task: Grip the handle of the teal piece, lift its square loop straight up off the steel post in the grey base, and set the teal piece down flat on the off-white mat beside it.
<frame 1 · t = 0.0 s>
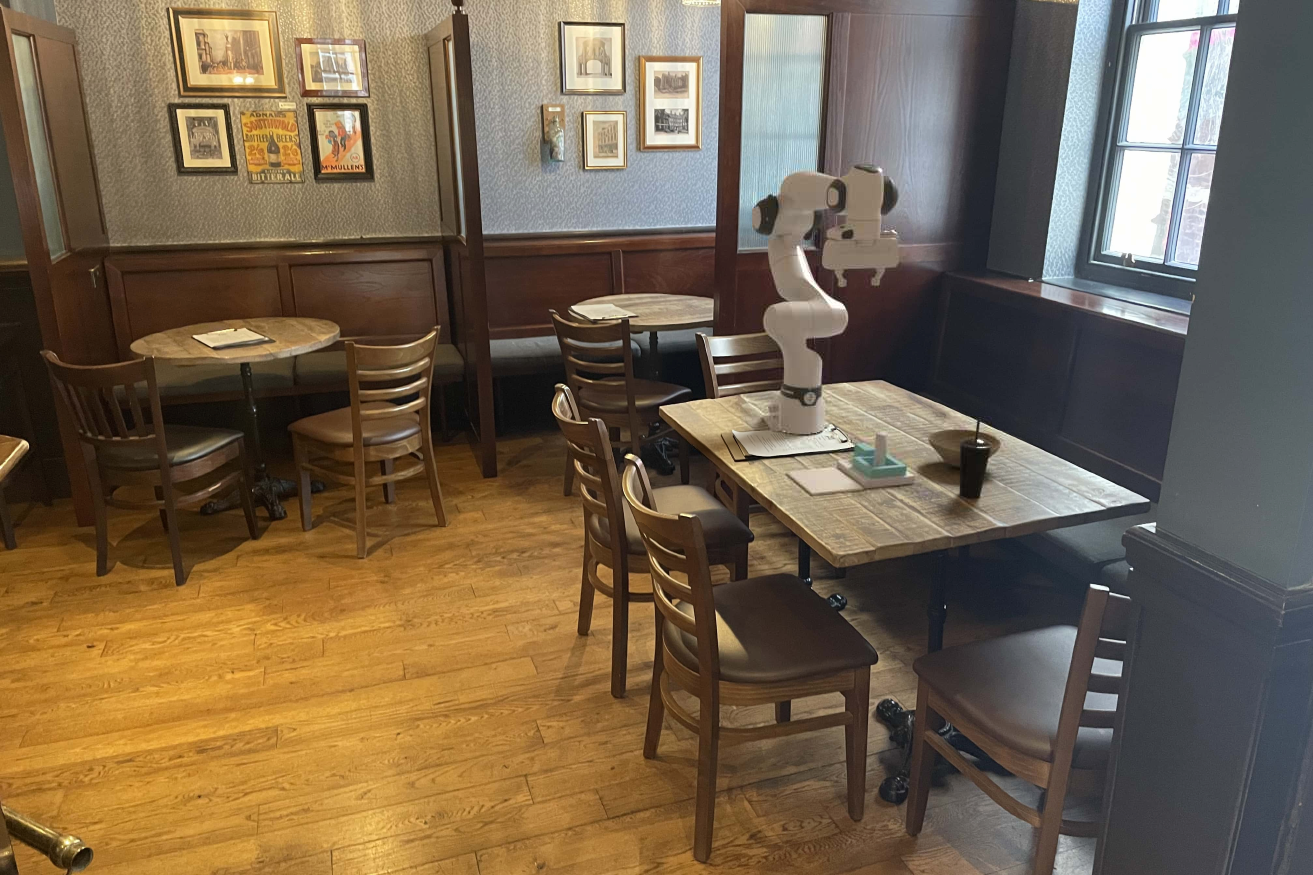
hand: (858, 285, 238), 48 cm above the table, tool pointing down, fingers open, 8 cm apart
bowl: (961, 467, 248), on the table
teal piece: (878, 470, 239), point 2 cm above the table, touching post stand
mat: (823, 481, 237), on the table
post stand: (878, 477, 240), on the table
drinking cup: (969, 495, 228), on the table
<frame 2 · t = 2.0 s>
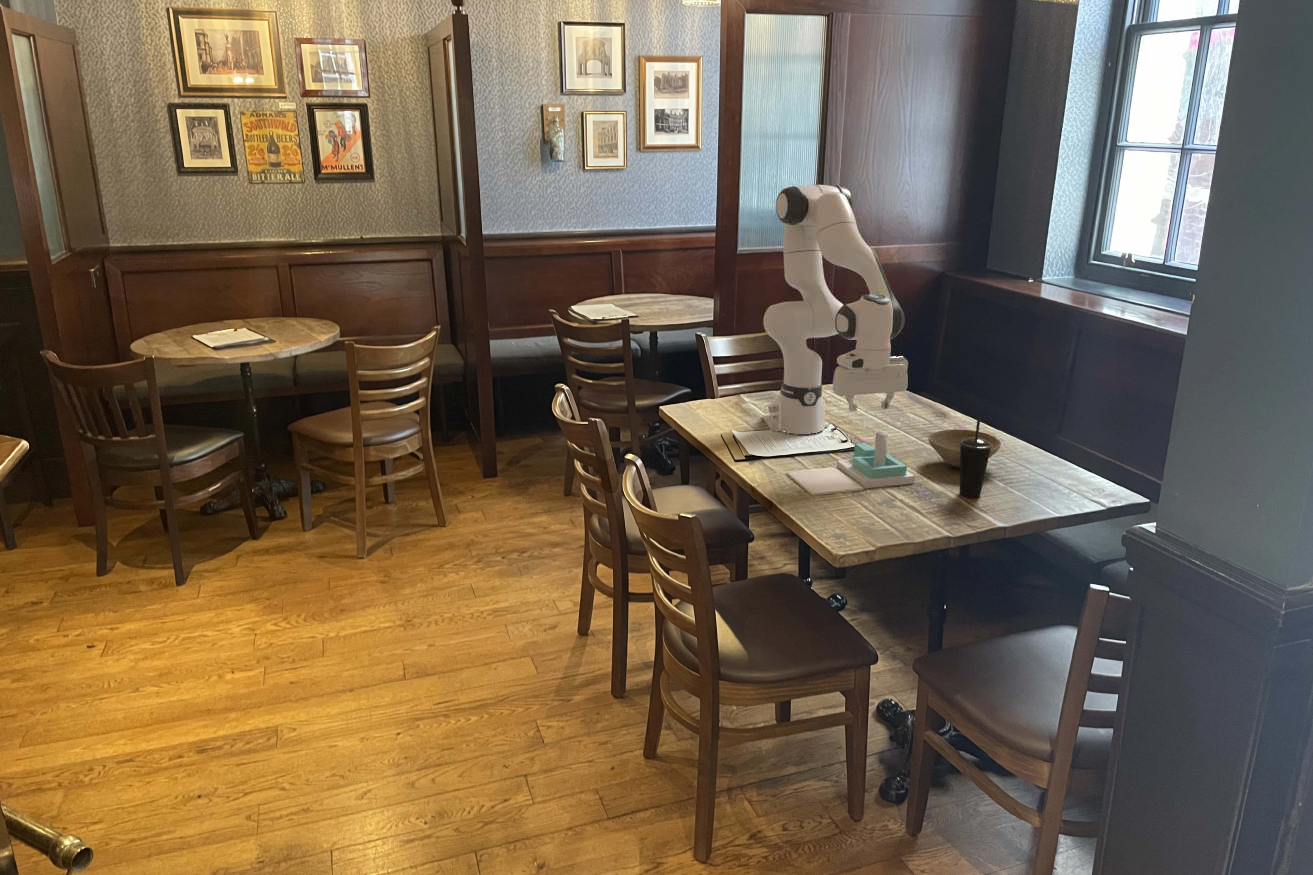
hand: (868, 409, 242), 16 cm above the table, tool pointing down, fingers open, 8 cm apart
nothing on the table moved.
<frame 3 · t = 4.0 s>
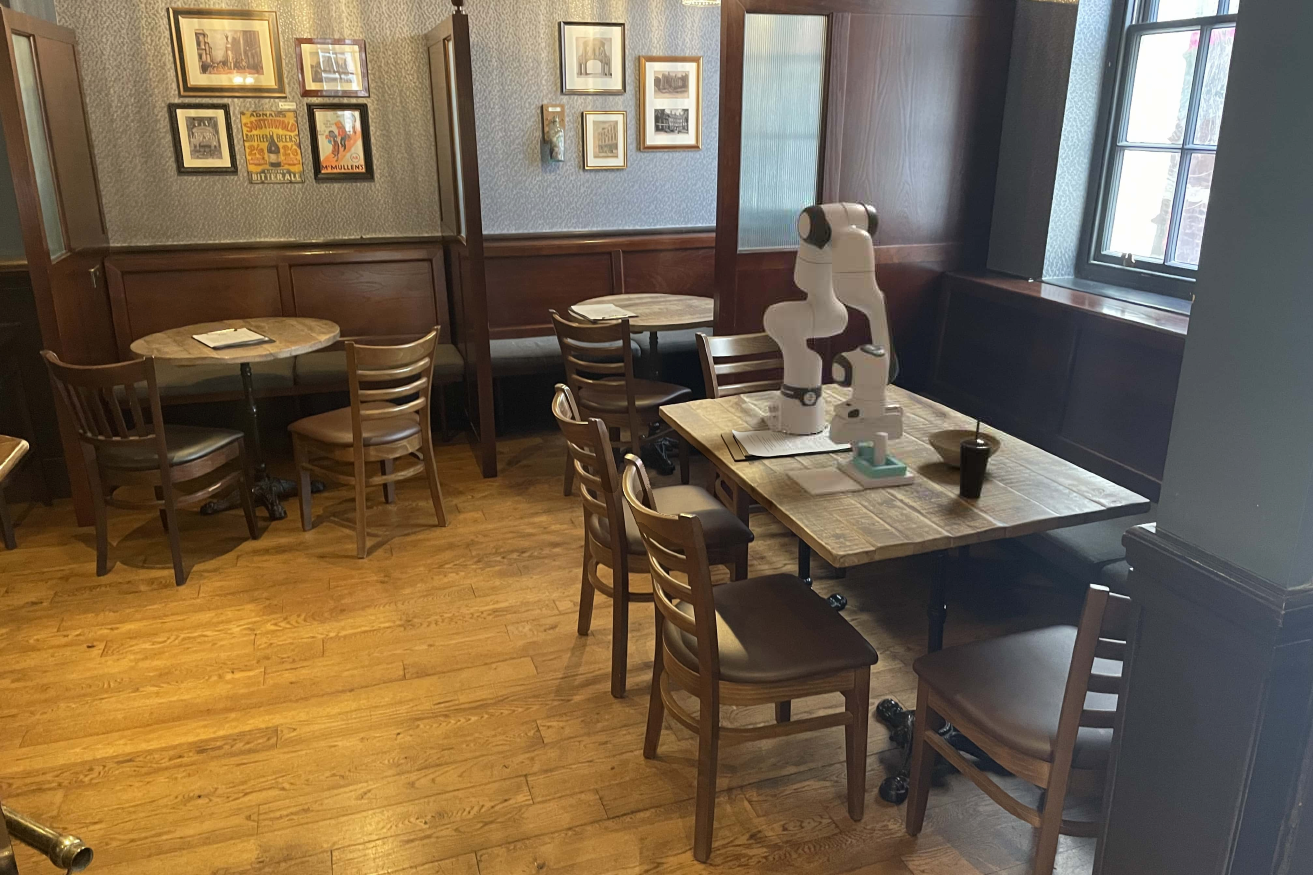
hand: (864, 456, 246), 3 cm above the table, tool pointing down, fingers closed on teal piece, 3 cm apart
teal piece: (878, 470, 239), point 2 cm above the table, touching gripper, post stand
everything else where it was.
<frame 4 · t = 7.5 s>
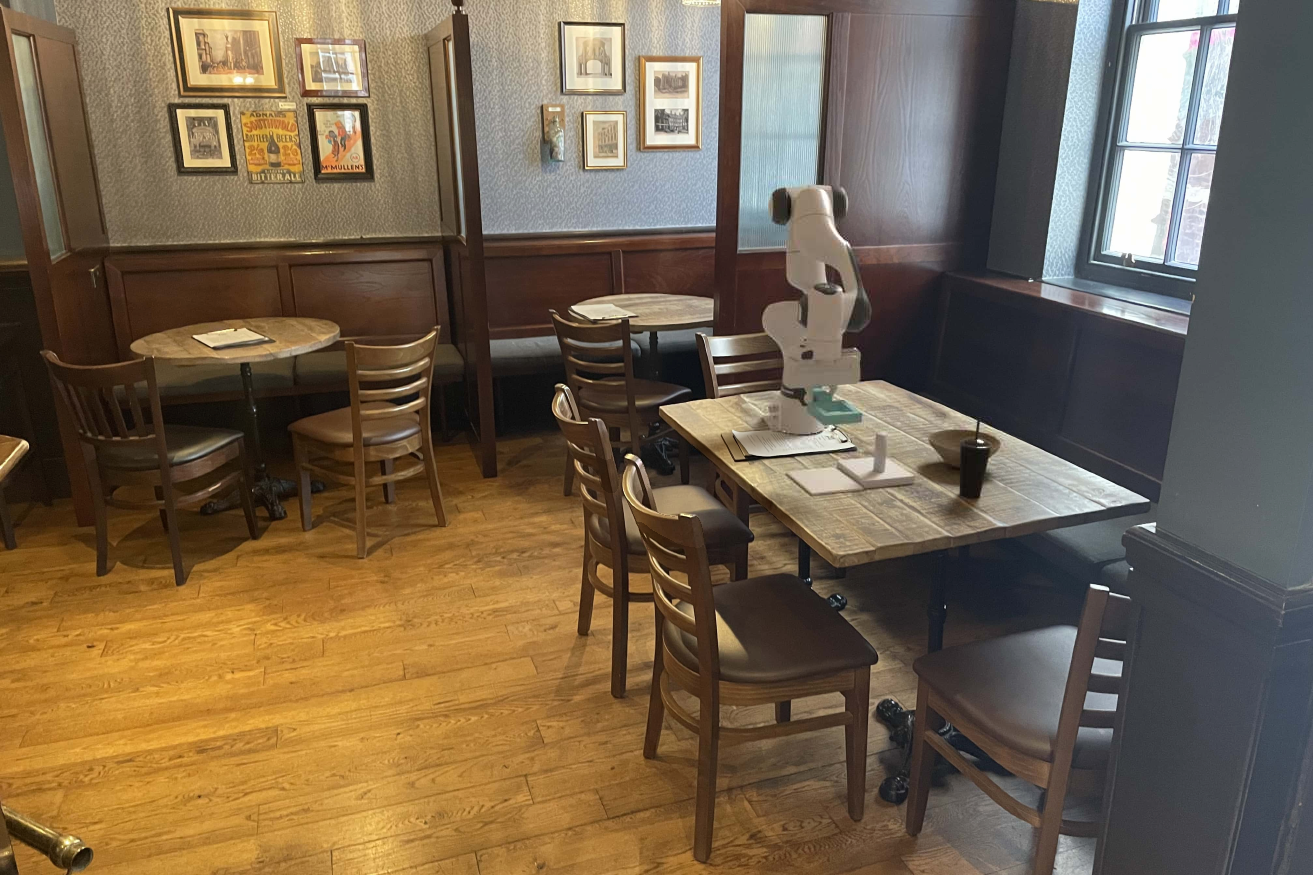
hand: (820, 402, 235), 20 cm above the table, tool pointing down, fingers closed on teal piece, 3 cm apart
teal piece: (833, 417, 229), point 18 cm above the table, touching gripper
everything else where it was.
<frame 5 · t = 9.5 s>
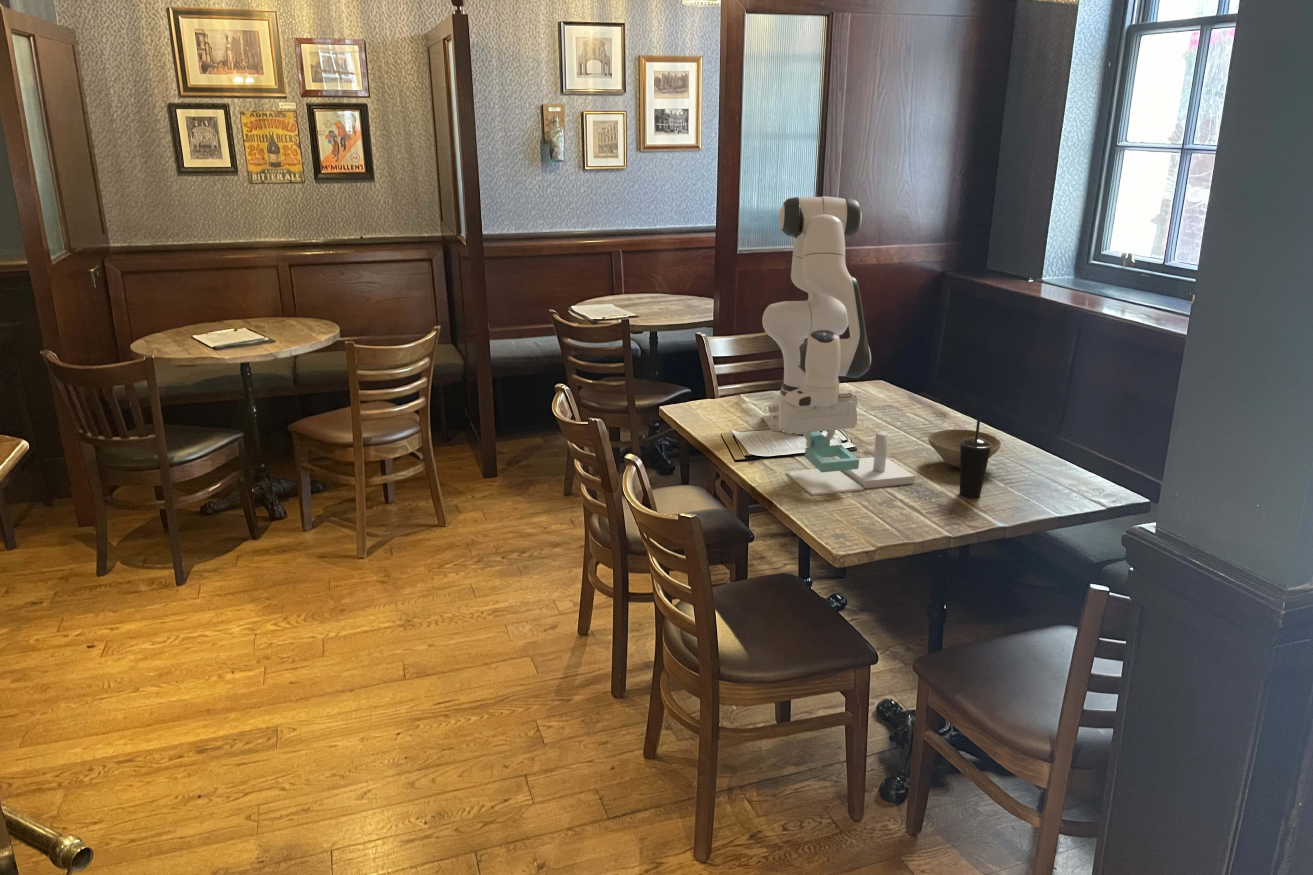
hand: (817, 446, 239), 8 cm above the table, tool pointing down, fingers closed on teal piece, 3 cm apart
teal piece: (831, 462, 232), point 6 cm above the table, touching gripper
everything else where it was.
when the fingers open (3 cm above the table, at t = 11.1 s): teal piece stays where it is, resting on mat.
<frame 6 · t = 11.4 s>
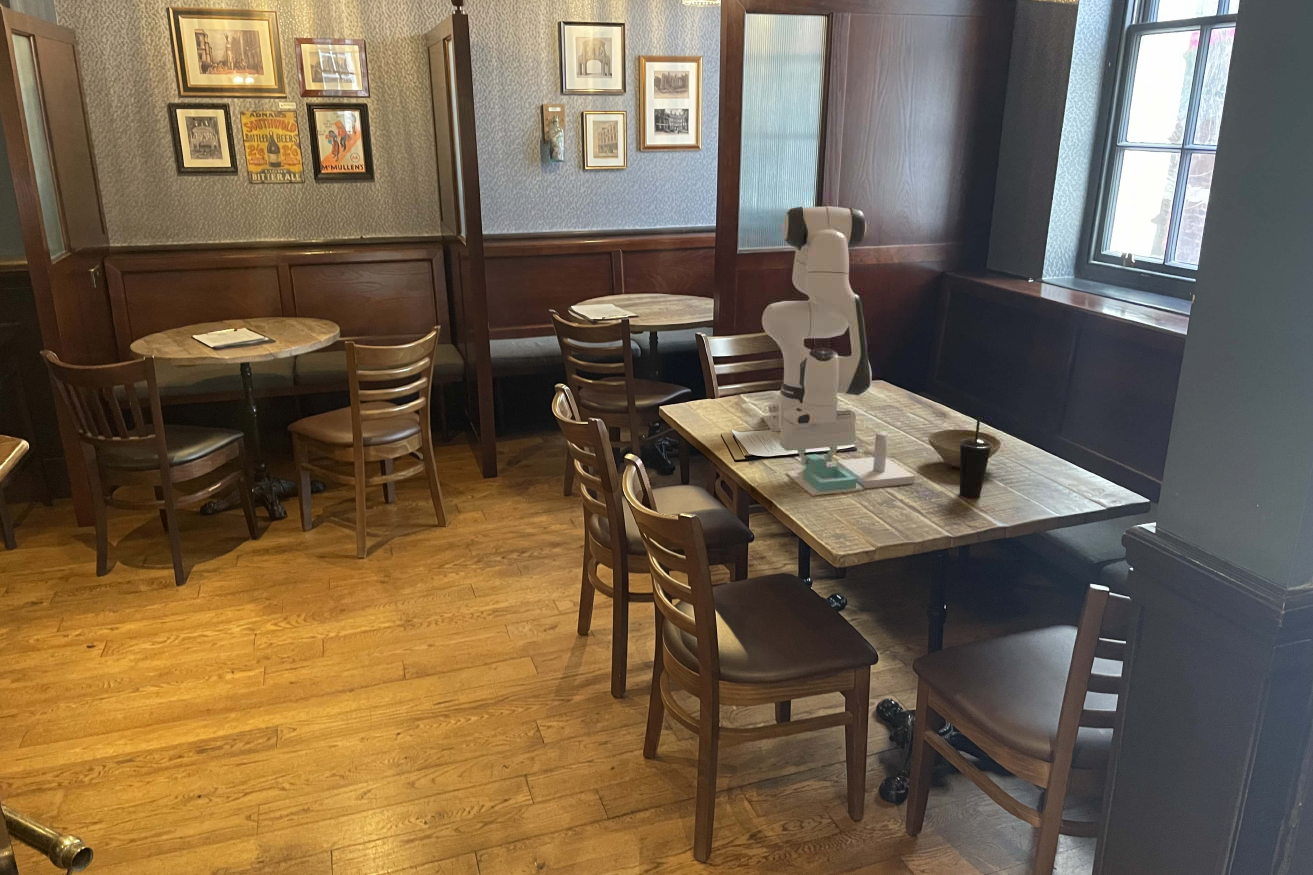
hand: (816, 463, 240), 3 cm above the table, tool pointing down, fingers open, 5 cm apart
teal piece: (828, 483, 234), point 1 cm above the table, touching mat
everything else where it was.
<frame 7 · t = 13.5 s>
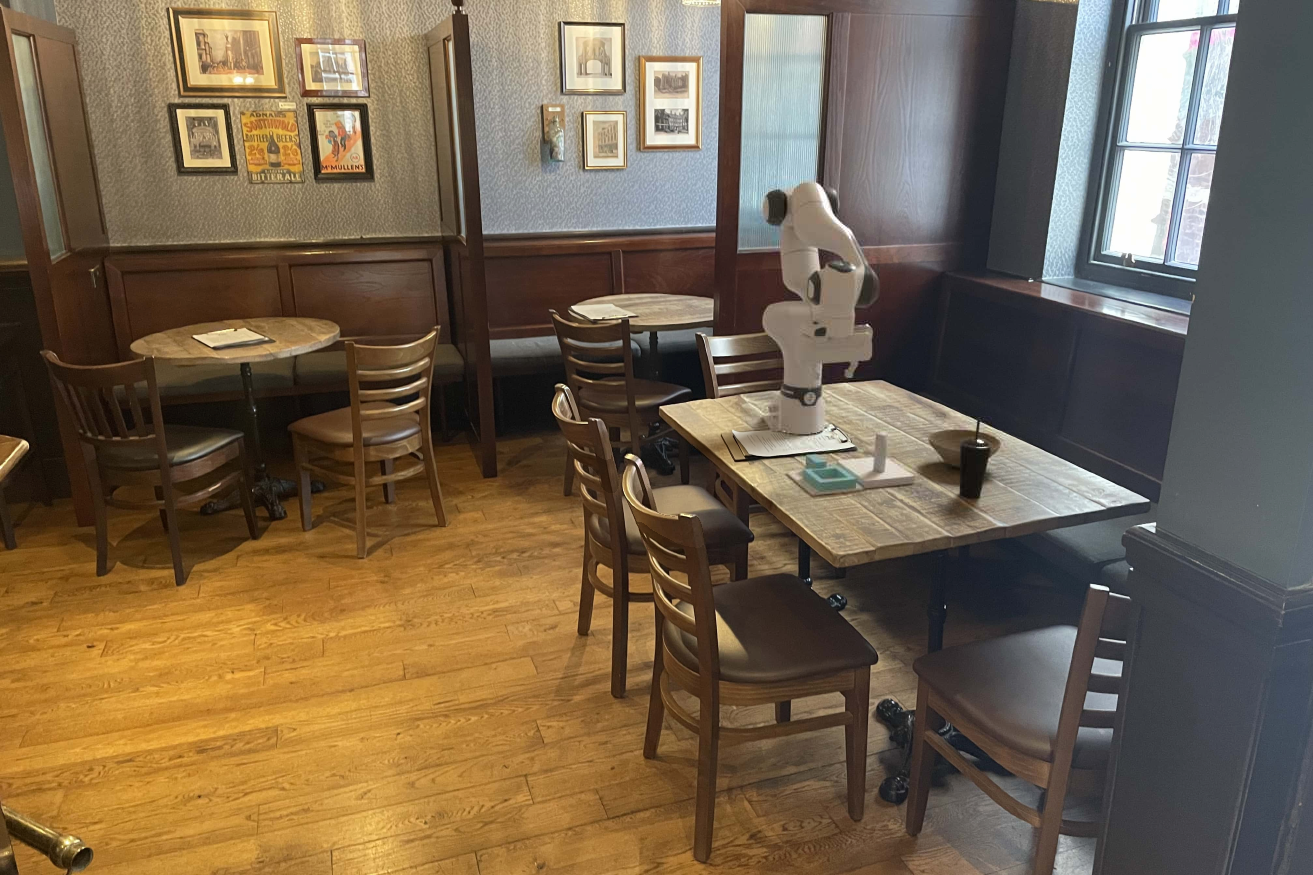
hand: (832, 378, 239), 25 cm above the table, tool pointing down, fingers open, 8 cm apart
nothing on the table moved.
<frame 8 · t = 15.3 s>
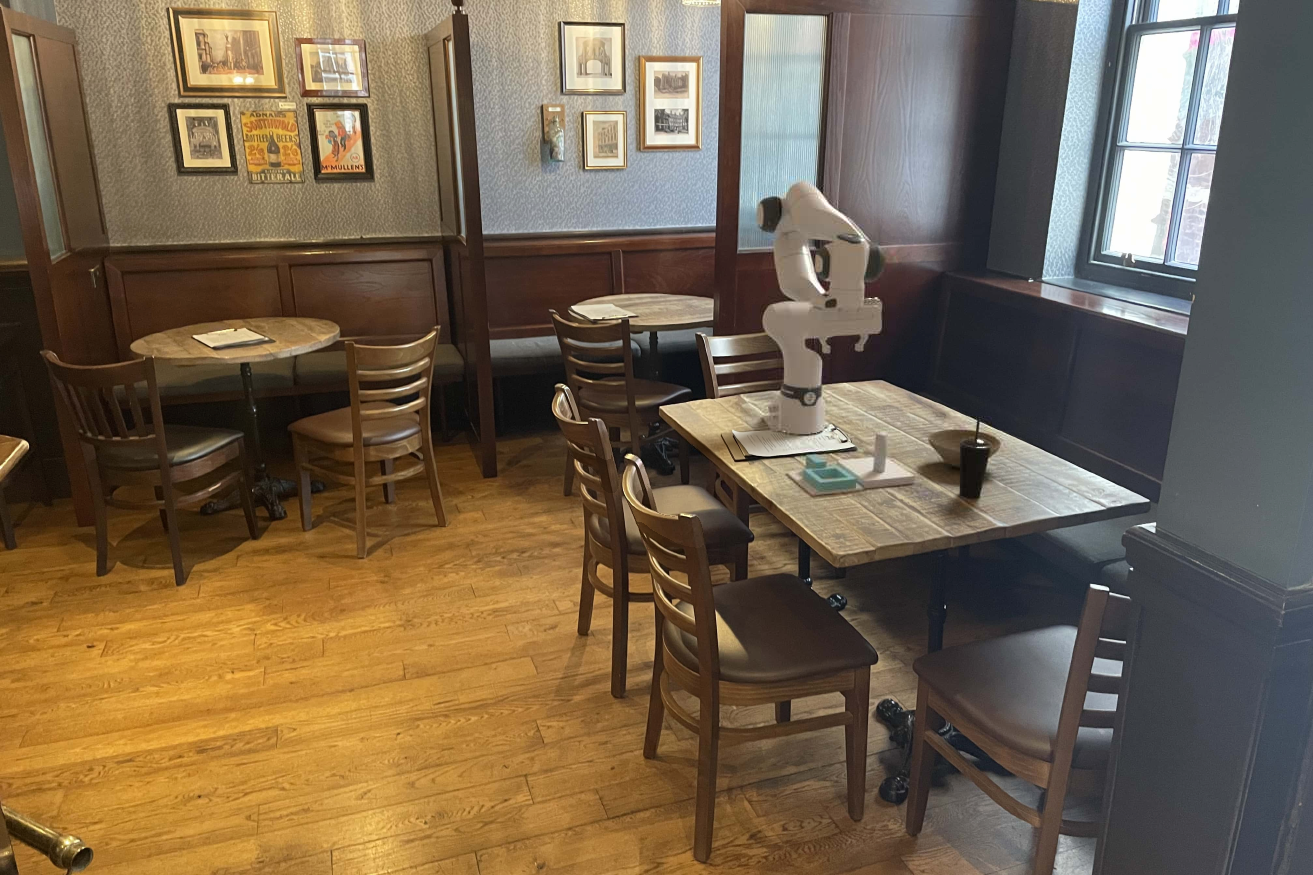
hand: (842, 351, 240), 31 cm above the table, tool pointing down, fingers open, 8 cm apart
nothing on the table moved.
at the end: teal piece inside the target area on the mat (0.3 cm from its centre), point 0.6 cm above the mat's base; teal piece tilted 0°; the gripper is holding nothing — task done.
